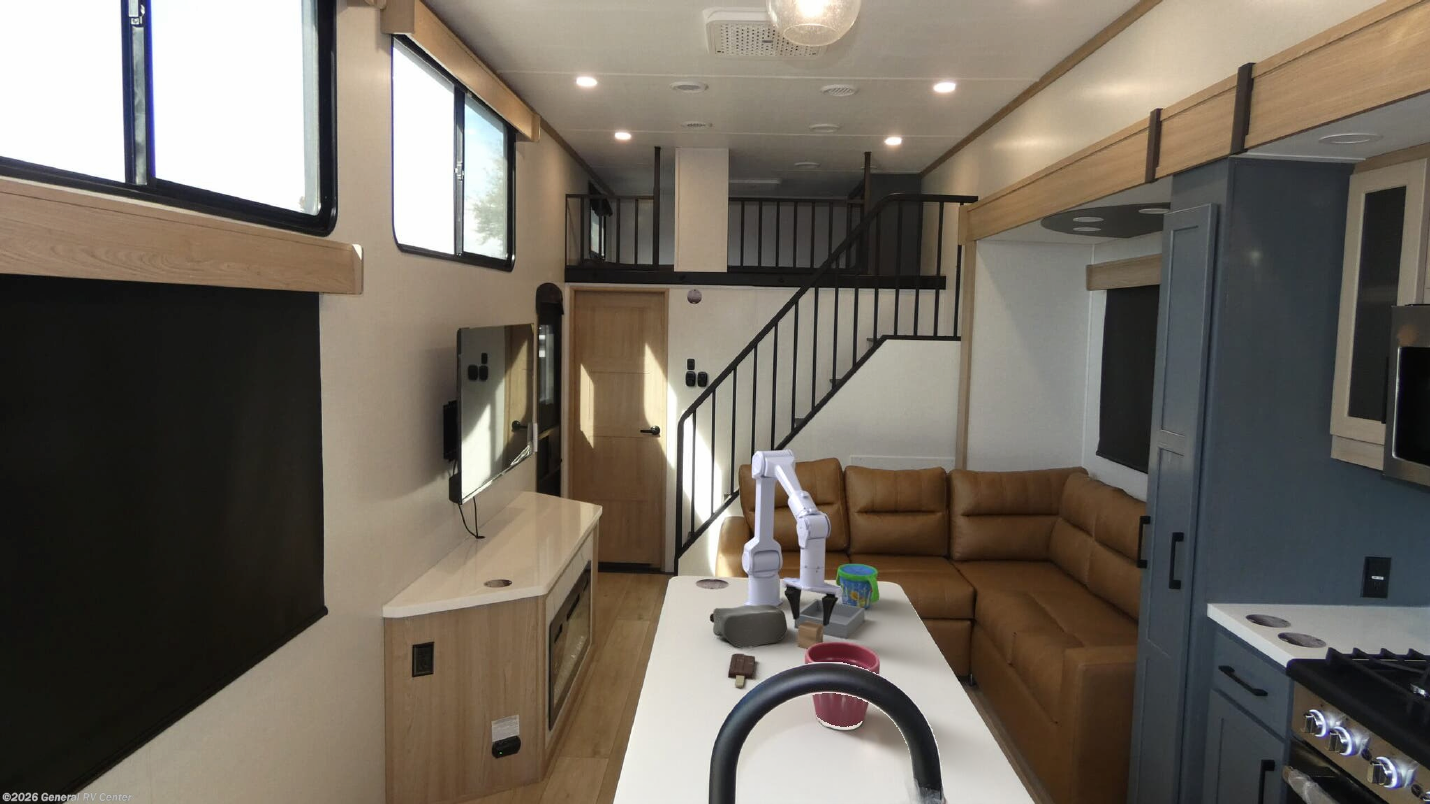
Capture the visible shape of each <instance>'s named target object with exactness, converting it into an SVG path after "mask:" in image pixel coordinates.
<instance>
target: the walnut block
mask: <svg viewBox="0 0 1430 804" xmlns="http://www.w3.org/2000/svg"><path fill="white" fill-rule="evenodd" d="M823 642H824V634H823V624H819V623H814V622H810V621H805V622H804V623H802V624H801V625H800V626H798V629H797V648H799V649H805V648H809V647H811V646H813V645H815V644H818V643H823Z"/></svg>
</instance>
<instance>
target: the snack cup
mask: <svg viewBox="0 0 1430 804" xmlns="http://www.w3.org/2000/svg"><path fill="white" fill-rule="evenodd" d="M878 574H879V572H878V569H877V568H875V567H873V566H870V565H866V564H861V563H847V564H841V565H840V566H838V568H837V574H836V578H835V584H836V586H837V587H842V596H841V601H842V603H841V604H845V605H850V606H856V607H861V608H865V610H866V609H868V608H869V607H871V604H872V603H876V602H878V601H879V599H880V592H879V591H880V590H879V584H878V582H877V581H878V580H877V578H878Z"/></svg>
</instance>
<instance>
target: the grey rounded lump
mask: <svg viewBox="0 0 1430 804" xmlns="http://www.w3.org/2000/svg"><path fill="white" fill-rule="evenodd" d="M786 618H787V617H786V613H785V612H784V610H783V609H780V608H779V607H778V606H773V605H758V606H753V605H744V606H742V605H740V606H737V607H721V608H719V607H716V608H714V609H713V612H712V613H711V614H710V615H709V620H710V622H712V623H713V628H712V632H713V634H714V635H715V636H717V637H721V638H725V639H727V641H728V642H730V643H731V645H734V646H736V647H738V648H750V647H749V646H752V647H757V646H762V645H766V644H776V643H778V642H779V641H781V639H783V638H784V637H785V636H786V635H787V632H788V623H787V619H786Z"/></svg>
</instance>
